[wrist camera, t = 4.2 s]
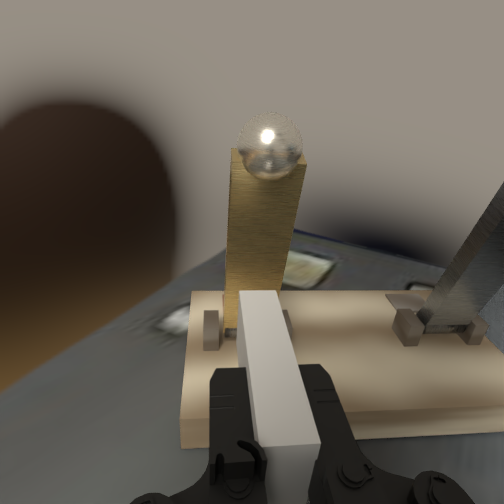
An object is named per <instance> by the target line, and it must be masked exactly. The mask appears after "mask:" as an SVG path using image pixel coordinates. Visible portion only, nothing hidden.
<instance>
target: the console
mask: <svg viewBox="0 0 504 504" xmlns="http://www.w3.org/2000/svg"><path fill="white" fill-rule="evenodd" d="M431 292H432V290H401V291H280V294H279V302H280V306H281V309H282V313H283V316H284V319H285V323H286V326H287V330H288V333H289V336H290V340H291V343H292V347H293V350H294V353H295V357H296V360H297V364H320V365H321V366H322V367H323V368H324V369H325V370H326V371H327V372H328V373H329V375H330V376H331V379H332V381H333V384H334V386H335V390H336V392H337V394H338V397H339V399H340V403H341V404H342V407H343V409H344V412H345V415H346V417H347V420H348V422H349V425H350V427H351V430H352V433H353V435H354V438H355V440H357V439H375V438H394V437H413V436H431V435H450V434H469V433H487V432H504V354H503V353H502V352H501V351H500V350H499V349H498V348H497V347H496V346H495V345H494V344H493V343H492V342H491V341H490V340H489V339H488V338H487V337H486V336H485V333H486V331H487V329H488V327H489V325H488V324H487V323H486V322H485V321H484V320H483V319H482V318H481V317H480V316H479V315H478V314H477V315H476V317H475V318H474V319H473V320H472V321H471V323H470V324H469V325H468V326H467V329H466V331H465V332H464V333H451V334H422V333H423V330H424V328H425V326H424V325H423V323H422V322H421V321H420V320H419V318H418V317H417V316H416V315H415V314H416V313H417V312H418V311H419V310H420V309H421V307H422V306H423V304H424V303H425V301H426V300H427V298H428V297H429V295H430V294H431ZM223 307H224V291H192V295H191V306H190V316H189V327H188V337H187V348H186V358H185V369H184V379H183V390H182V400H181V411H180V436H181V449H189V448H207V447H209V382H210V379H211V377H212V375H213V373H214V371H215V369H216V368H237V367H239V366H238V355H237V345H236V339H237V337H231V338H225V337H224V333H223Z"/></svg>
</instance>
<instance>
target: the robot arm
mask: <svg viewBox="0 0 504 504" xmlns="http://www.w3.org/2000/svg"><path fill="white" fill-rule="evenodd" d="M236 345H237V355H238V366H239V367H237V368H216V369H215V371H214V373H213V375H212V377H211V379H210V382H209V462H208V466H207V468H206V471H205V472H204V474H203V475H202V477H201V478H200V479H199V480H198V481H197V482H196V483H195V484H194V485H193V486H191V487H189V488H187V489H186V490H184V491H181V492H179V493H177V494H175V495H172V496H170V497H167V496H165V495H163V494H160V493H147V494H145V495H142V496H140V497H138V498H136V499H135V500H133V501H132V502H131V503H130V504H306V503H307V499H308V495H309V500H310V504H475V503H474V502H473V501H472V499H471V498H470V497H469V496H468V495H467V493H466V492H465V491H464V490H463V489H462V488H461V487H460V486H459V485H458V484H457V483H456V482H455V481H454V480H453V479H451V478H449V477H447V476H446V475H444V474H442V473H439V472H435V471H425V472H421V473H420V474H419V475H418V476H416V478H415V480H413V479H410V478H406V477H402V476H398V475H395V474H391V473H388V472H385V471H383V470H381V469H379V468H377V467H376V466H374V465H373V464H372V462H370V461H369V460H368V459H367V458H366V457H365V456H364V455H363V454H362V453H361V451H360V449H359V447H358V445H357V443H356V440H355V438H354V435H353V433H352V430H351V427H350V425H349V422H348V420H347V417H346V415H345V412H344V409H343V407H342V404H341V403H340V399H339V397H338V394H337V392H336V390H335V386H334V384H333V381H332V379H331V376H330V375H329V373H328V372H327V371H326V370H325V369H324V368H323V367H322V366H321V365H320V364H297V360H296V357H295V353H294V350H293V347H292V343H291V340H290V336H289V333H288V330H287V326H286V323H285V319H284V316H283V313H282V309H281V306H280V302H279V299H278V296H277V292H276V290H247V291H239V302H238V321H237V339H236Z"/></svg>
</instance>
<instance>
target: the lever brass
mask: <svg viewBox="0 0 504 504" xmlns="http://www.w3.org/2000/svg"><path fill="white" fill-rule="evenodd" d="M302 145H303V143H302V137H301V134H300V132H299V130H298V128H297V126H296V125H295V124H294V123H293V122H292V121H291V120H290V119H289V118H288V117H286V116H284V115H281V114H279V113H273V112H267V113H262V114H259V115H256V116H255V117H253V118H251V119H250V120H249V121H248V122H247V123H246V124H245V125H244V127H243V128H242V130H241V132H240V134H239V137H238V141H237V148H231V165H230V185H229V187H230V188H229V206H228V226H227V227H228V228H227V246H226V266H225V287H224V307H223V333H224V337H225V338H231V337H237V321H238V302H239V291H247V290H276V292H277V296H278V299H279V294H280V289H281V284H282V280H283V275H284V270H285V266H286V261H287V256H288V252H289V247H290V242H291V237H292V233H293V228H294V223H295V218H296V214H297V209H298V204H299V200H300V195H301V190H302V185H303V181H304V176H305V171H306V167H307V163H306V161H305V158H304V155H303V153H302V149H303V146H302Z"/></svg>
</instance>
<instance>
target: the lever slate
mask: <svg viewBox="0 0 504 504" xmlns="http://www.w3.org/2000/svg"><path fill="white" fill-rule="evenodd" d="M503 284H504V183H503V184H502V185H501V187H500V189H499V190H498V191H497V193H496V195H495V196H494V198H493V199H492V201H491V202H490V204H489V205H488V207H487V209H486V210H485V212H484V213H483V214H482V216H481V217H480V219H479V220H478V222H477V224H476V225H475V227H474V228H473V230H472V231H471V233H470V234H469V236H468V237H467V239H466V240H465V242H464V243H463V245H462V246H461V248H460V249H459V251H458V253H457V254H456V255H455V257H454V259H453V260H452V262H451V263H450V265H449V266H448V268H447V269H446V271H445V272H444V274H443V275H442V277H441V278H440V280H439V281H438V283H437V284H436V286H435V287H434V289H433V290H432V292H431V294H430V295H429V297H428V298H427V300H426V301H425V303H424V304H423V306H422V307H421V309H420V310H419V311H418V312H417V313H416V314H415V315H416V316H417V317H418V318H419V320H420V321H421V322H422V323H423V325H424V326H425V328H424V330H423V333H422V334H451V333H464V332H465V331H466V329H467V326H468V325H469V324H470V323H471V321H472V320H473V319H474V318H475V317H476V315H477V314H478V313H479V312H480V311H481V310H482V308H483V307H484V306H485V305H486V304H487V302H488V301H489V300H490V299H491V298H492V297H493V295H494V294H495V293H496V292H497V291H498V289H499V288H500V287H501V286H502V285H503Z"/></svg>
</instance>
